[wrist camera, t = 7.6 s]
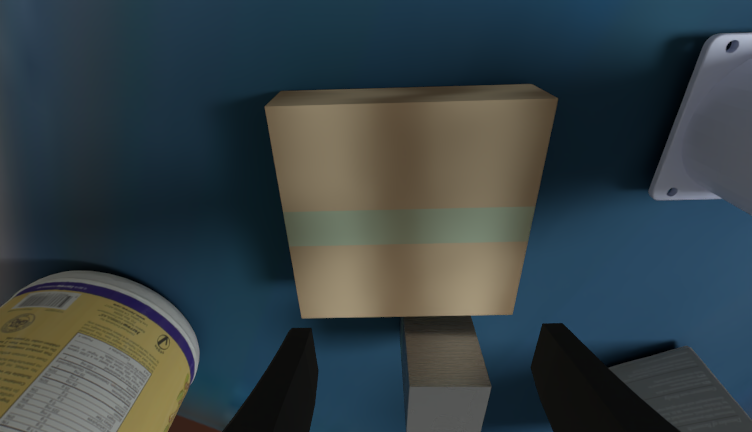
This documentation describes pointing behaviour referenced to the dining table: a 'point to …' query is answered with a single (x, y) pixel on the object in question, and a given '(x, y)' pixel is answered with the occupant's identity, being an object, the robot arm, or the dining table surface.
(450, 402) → the column
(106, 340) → the supplement tub
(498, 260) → the green-striped tan block
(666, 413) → the skincare box
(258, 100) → the dining table surface
